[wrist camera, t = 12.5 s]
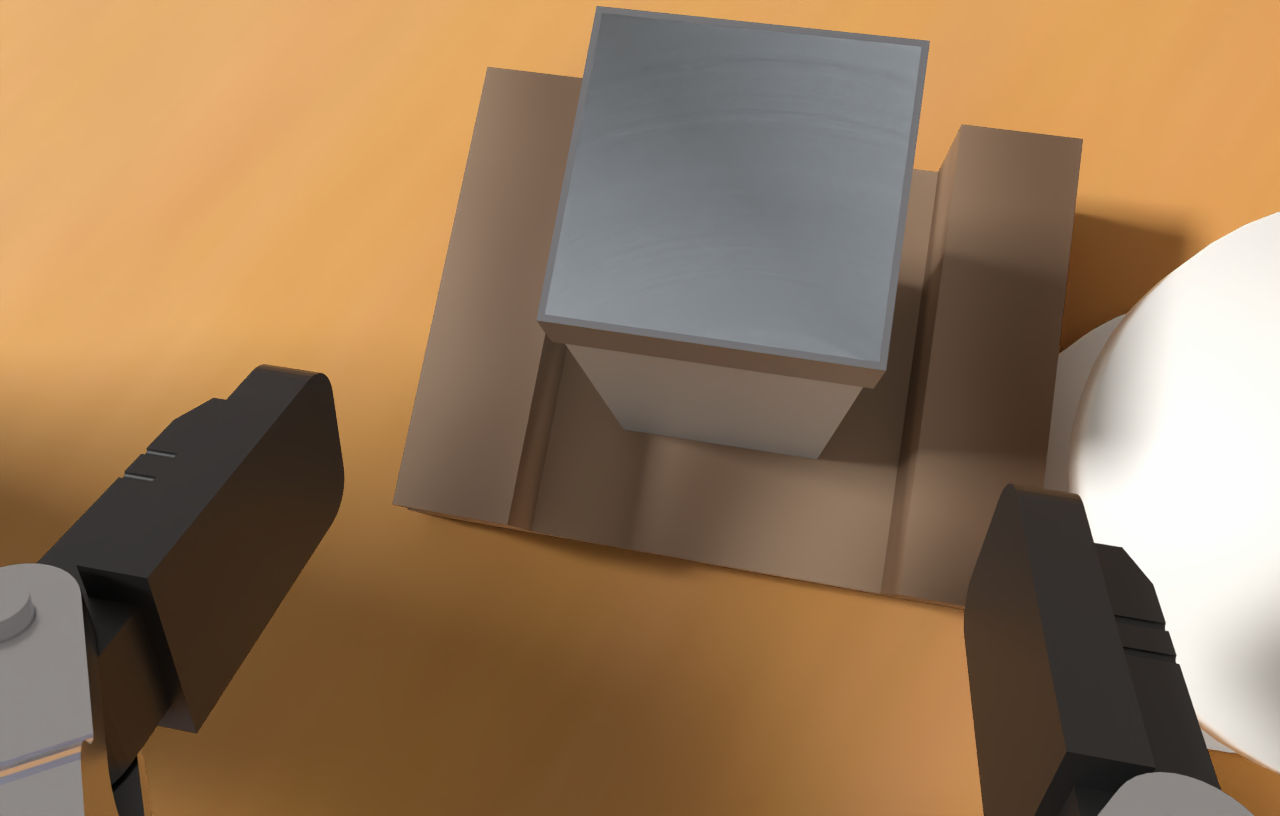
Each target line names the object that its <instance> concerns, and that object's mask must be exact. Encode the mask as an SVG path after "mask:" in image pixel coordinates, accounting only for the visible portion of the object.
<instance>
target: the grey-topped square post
mask: <svg viewBox="0 0 1280 816" xmlns="http://www.w3.org/2000/svg"><path fill="white" fill-rule="evenodd" d="M929 43H930V41H925V40H916V39H906V38H897V37H887V36H878V35H868V34H859V33H849V32H840V31H830V30H821V29H811V28H801V27H792V26H782V25H773V24H763V23H754V22H744V21H735V20H725V19H716V18H706V17H697V16H687V15H678V14H668V13H658V12H649V11H639V10H630V9H620V8H611V7H601V6H597V7H596V13H595V18H594V23H593V28H592V33H591V39H590V44H589V49H588V54H587V59H586V65H585V70H584V75H583V80H582V85H581V91H580V96H579V101H578V106H577V111H576V117H575V122H574V127H573V132H572V137H571V143H570V148H569V153H568V158H567V164H566V169H565V174H564V179H563V184H562V190H561V195H560V200H559V205H558V210H557V216H556V221H555V226H554V231H553V236H552V242H551V247H550V252H549V257H548V262H547V268H546V273H545V278H544V283H543V288H542V294H541V299H540V304H539V309H538V314H537V320H536V321H537V322H538V323H539V325H540V326H541V327H542V329H543V330H544V332H545V333H546V334H547V336H548V337H549V338H550V340H551V341H552V342H557V343H564V344H565V345H566V346H567V347H568V349H569V350H570V352H571V353H572V355H573V356H574V358H575V359H576V361H577V362H578V364H579V365H580V366H581V368H582V369H583V371H584V372H585V374H586V375H587V377H588V378H589V380H590V381H591V383H592V384H593V385H594V387H595V388H596V390H597V391H598V393H599V394H600V396H601V397H602V399H603V400H604V402H605V403H606V404H607V406H608V407H609V409H610V410H611V412H612V413H613V415H614V416H615V418H616V419H617V421H618V422H619V423H620V425H621V426H622V428H623V429H624V430H631V431H637V432H643V433H650V434H656V435H663V436H669V437H676V438H682V439H689V440H695V441H701V442H708V443H714V444H721V445H727V446H734V447H740V448H746V449H753V450H759V451H766V452H772V453H779V454H785V455H791V456H798V457H804V458H811V459H817V458H818V457H819V455H820V454H821V452H822V451H823V449H824V448H825V446H826V444H827V443H828V441H829V440H830V438H831V437H832V435H833V434H834V432H835V430H836V429H837V427H838V426H839V424H840V423H841V421H842V420H843V418H844V416H845V415H846V413H847V412H848V410H849V409H850V407H851V405H852V404H853V402H854V401H855V399H856V398H857V396H858V395H859V393H860V391H861V390H862V388H863V387H865V388H872V389H874V387H875V386H876V384H877V383H878V381H879V380H880V379H881V377H882V376H883V374H884V373H885V371H886V367H887V360H888V352H889V345H890V337H891V329H892V322H893V314H894V307H895V299H896V292H897V284H898V277H899V269H900V262H901V254H902V247H903V239H904V232H905V224H906V217H907V209H908V202H909V194H910V186H911V179H912V171H913V164H914V156H915V149H916V141H917V134H918V126H919V119H920V111H921V104H922V96H923V89H924V81H925V74H926V66H927V58H928V51H929Z"/></svg>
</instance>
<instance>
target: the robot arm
mask: <svg viewBox="0 0 1280 816" xmlns="http://www.w3.org/2000/svg"><path fill="white" fill-rule="evenodd" d="M343 489H344V467H343V460H342V453H341V446H340V439H339V432H338V426H337V419H336V412H335V405H334V398H333V391H332V386H331V383H330V381H329V379H328V377H327V376H326V375H325V374H323V373H317V372H311V371H304V370H298V369H292V368H285V367H279V366H272V365H265V364H263V365H260V366H258V367H256V368H255V369H254V370H253V371H252V372H251V373H250V374H249V375H248V377H247V378H246V379H245V380H244V381H243V382H242V383H241V384H240V385H239V386H238V388H237V389H236V390H235V391H234V392H233V393H232V394H231V395H230V396H229V397H228V399H227V400H223V399H217V398H212V399H211V400H209V401H207V402H205V403H204V404H202V405H200V406H198V407H196V408H195V409H193V410H191V411H189V412H187V413H186V414H184V415H182V416H180V417H178V418H177V419H175V420H173V421H172V422H171V424H170V425H169V426H168V427H167V428H166V429H165V430H164V431H163V432H162V433H161V434H160V435H159V436H158V437H157V438H156V439H155V440H154V441H153V442H152V443H151V444H150V445H149V447H148V448H147V452H146V454H141V455H140V456H139V457H138V458H137V459H136V460H135V461H134V462H133V463H132V464H131V465H130V466H129V467H128V468H127V470H126V471H125V475H124V477H123V478H118V479H117V480H116V481H115V482H114V483H113V484H112V485H111V486H110V487H109V488H108V489H107V490H106V491H105V493H104V494H103V495H102V496H101V497H100V498H99V499H98V500H97V501H96V502H95V503H94V504H93V505H92V506H91V507H90V508H89V509H88V510H87V511H86V512H85V513H84V514H83V515H82V517H81V518H80V519H79V520H78V521H77V522H76V523H75V524H74V525H73V526H72V527H71V528H70V529H69V530H68V531H67V532H66V533H65V534H64V535H63V536H62V537H61V538H60V540H59V541H58V542H57V543H56V544H55V545H54V546H53V547H52V548H51V549H50V550H49V551H48V552H47V553H46V554H45V555H44V556H43V557H42V558H41V559H40V560H39V561H38V563H36V564H33V563H26V564H15V565H9V566H4V567H0V816H152V811H151V803H150V796H149V788H148V781H147V773H146V765H145V761H144V757H143V754H142V752H141V749H142V747H143V746H144V744H145V743H146V741H147V740H148V738H149V737H150V736H151V734H152V733H153V731H154V730H155V728H156V727H157V726H162V727H167V728H172V729H177V730H182V731H187V732H192V733H197V732H198V731H199V729H200V727H201V726H202V724H203V723H204V721H205V720H206V718H207V717H208V715H209V714H210V712H211V710H212V709H213V707H214V706H215V704H216V703H217V701H218V700H219V698H220V696H221V695H222V693H223V692H224V690H225V689H226V687H227V686H228V684H229V682H230V681H231V679H232V678H233V676H234V675H235V673H236V672H237V670H238V669H239V667H240V665H241V664H242V662H243V661H244V659H245V658H246V656H247V655H248V653H249V651H250V650H251V648H252V647H253V645H254V644H255V642H256V641H257V639H258V638H259V636H260V634H261V633H262V631H263V630H264V628H265V627H266V625H267V624H268V622H269V620H270V619H271V617H272V616H273V614H274V613H275V611H276V610H277V608H278V606H279V605H280V603H281V602H282V600H283V599H284V597H285V596H286V594H287V593H288V591H289V589H290V588H291V586H292V585H293V583H294V582H295V580H296V579H297V577H298V575H299V574H300V572H301V571H302V569H303V568H304V566H305V565H306V563H307V561H308V560H309V558H310V557H311V555H312V554H313V552H314V551H315V549H316V548H317V546H318V544H319V543H320V541H321V540H322V538H323V537H324V535H325V534H326V532H327V530H328V529H329V527H330V526H331V524H332V523H333V521H334V519H335V517H336V515H337V512H338V510H339V507H340V503H341V500H342V495H343ZM1165 625H1166V621H1165V618H1164V615H1163V612H1162V609H1161V606H1160V603H1159V600H1158V597H1157V594H1156V591H1155V588H1154V585H1153V583H1152V582H1151V581H1150V580H1149V579H1148V577H1147V576H1146V575H1145V574H1144V573H1143V571H1142V570H1141V569H1140V568H1139V567H1138V565H1137V564H1136V563H1135V562H1134V561H1133V559H1132V558H1131V557H1130V556H1129V555H1128V553H1127V552H1126V551H1125V550H1124V549H1123V547H1118V546H1112V545H1105V544H1099V543H1094V540H1093V537H1092V533H1091V529H1090V526H1089V522H1088V519H1087V515H1086V511H1085V508H1084V504H1083V501H1082V499H1081V497H1080V496H1079V495H1078V494H1075V493H1069V492H1062V491H1056V490H1049V489H1043V488H1037V487H1030V486H1024V485H1018V484H1011V483H1009V484H1007V485H1006V486H1005V488H1004V489H1003V491H1002V493H1001V495H1000V497H999V500H998V503H997V506H996V508H995V511H994V514H993V517H992V520H991V523H990V525H989V528H988V531H987V534H986V537H985V539H984V542H983V545H982V548H981V551H980V553H979V556H978V559H977V562H976V565H975V568H974V570H973V573H972V576H971V579H970V582H969V586H968V591H967V596H966V602H965V611H964V637H965V646H966V656H967V665H968V674H969V683H970V693H971V702H972V711H973V720H974V729H975V739H976V748H977V757H978V766H979V775H980V785H981V794H982V803H983V812H984V816H1254V815H1253V814H1252V813H1251V812H1250V811H1249V810H1248V809H1246V808H1245V807H1244V806H1243V805H1241V804H1240V803H1239V802H1237V801H1236V800H1235V799H1234V798H1232V797H1231V796H1229V795H1227V794H1226V793H1224V792H1222V790H1221V788H1220V786H1219V783H1218V780H1217V777H1216V774H1215V771H1214V768H1213V765H1212V761H1211V758H1210V755H1209V752H1208V749H1207V746H1206V743H1205V740H1204V737H1203V734H1202V731H1201V728H1200V725H1199V722H1198V719H1197V716H1196V713H1195V710H1194V707H1193V704H1192V701H1191V698H1190V695H1189V691H1188V688H1187V685H1186V682H1185V679H1184V676H1183V673H1182V670H1181V667H1180V664H1177V663H1176V656H1177V655H1176V652H1175V649H1174V646H1173V643H1172V640H1171V637H1170V634H1169V631H1165Z"/></svg>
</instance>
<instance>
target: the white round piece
mask: <svg viewBox="0 0 1280 816" xmlns="http://www.w3.org/2000/svg"><path fill="white" fill-rule="evenodd" d="M1043 489H1049V490H1056V491H1062V492H1069V493H1075V494H1078V495H1079V496H1080V497H1081V499H1082V501H1083V504H1084V508H1085V511H1086V515H1087V519H1088V522H1089V526H1090V529H1091V533H1092V537H1093V540H1094V543H1099V544H1105V545H1112V546H1118V547H1123V549H1124V550H1125V551H1126V552H1127V553H1128V555H1129V556H1130V557H1131V558H1132V559H1133V561H1134V562H1135V563H1136V564H1137V565H1138V567H1139V568H1140V569H1141V570H1142V571H1143V573H1144V574H1145V575H1146V576H1147V577H1148V579H1149V580H1150V581H1151V582H1152V583H1153V585H1154V588H1155V591H1156V594H1157V597H1158V600H1159V603H1160V606H1161V609H1162V612H1163V615H1164V618H1165V621H1166V625H1165V631H1169V634H1170V637H1171V640H1172V643H1173V646H1174V649H1175V652H1176V655H1177V656H1176V663H1177V664H1180V667H1181V670H1182V673H1183V676H1184V679H1185V682H1186V685H1187V688H1188V691H1189V695H1190V698H1191V701H1192V704H1193V707H1194V710H1195V713H1196V716H1197V719H1198V722H1199V725H1200V728H1201V731H1202V734H1203V737H1204V740H1205V743H1206V746H1207V749H1212V750H1218V751H1223V752H1229V753H1238V754H1240V755H1241V756H1243V757H1245V758H1246V759H1248V760H1250V761H1251V762H1253V763H1255V764H1257V765H1259V766H1262V767H1264V768H1266V769H1268V770H1271V771H1273V772H1275V773H1277V774H1280V212H1277V213H1275V214H1272V215H1269V216H1267V217H1264V218H1262V219H1259V220H1256V221H1254V222H1251V223H1249V224H1246V225H1244V226H1242V227H1240V228H1238V229H1237V230H1235V231H1233V232H1231V233H1229V234H1227V235H1226V236H1224V237H1222V238H1220V239H1218V240H1216V241H1215V242H1213V243H1211V244H1210V245H1208V246H1207V247H1206V248H1204V249H1203V250H1201V251H1200V252H1199V253H1197V254H1196V255H1195V256H1193V257H1192V258H1190V259H1189V260H1188V261H1186V262H1185V263H1184V264H1182V265H1181V266H1179V267H1178V268H1177V269H1175V270H1174V271H1173V272H1171V273H1170V274H1169V275H1167V276H1166V277H1164V278H1163V279H1162V280H1160V281H1159V282H1158V283H1156V284H1155V285H1154V286H1153V287H1152V288H1151V289H1150V290H1149V291H1148V292H1147V293H1146V294H1145V295H1144V296H1143V297H1142V298H1141V299H1140V300H1139V301H1138V302H1137V303H1136V304H1135V305H1134V306H1133V307H1132V308H1131V309H1130V310H1129V312H1128V313H1126V314H1123V315H1121V316H1118V317H1116V318H1113V319H1112V320H1110V321H1108V322H1106V323H1104V324H1102V325H1101V326H1099V327H1097V328H1095V329H1093V330H1091V331H1090V332H1088V333H1087V334H1086V335H1084V336H1083V337H1081V338H1080V339H1079V340H1077V341H1076V342H1074V343H1073V344H1072V345H1070V346H1069V347H1068V348H1066V349H1065V350H1064V351H1062V352H1061V353H1059V355H1058V363H1057V372H1056V381H1055V390H1054V399H1053V408H1052V416H1051V425H1050V434H1049V443H1048V452H1047V460H1046V469H1045V478H1044V487H1043Z"/></svg>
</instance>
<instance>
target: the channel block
mask: <svg viewBox="0 0 1280 816" xmlns="http://www.w3.org/2000/svg"><path fill="white" fill-rule="evenodd" d="M582 80H583V78H576V77H568V76H559V75H551V74H543V73H535V72H526V71H518V70H510V69H502V68H494V67H487V72H486V77H485V81H484V86H483V90H482V95H481V100H480V104H479V109H478V113H477V118H476V123H475V127H474V132H473V136H472V141H471V145H470V150H469V155H468V159H467V164H466V168H465V173H464V178H463V182H462V187H461V191H460V196H459V201H458V205H457V210H456V214H455V219H454V224H453V228H452V233H451V237H450V242H449V247H448V251H447V256H446V260H445V265H444V269H443V274H442V279H441V283H440V288H439V292H438V297H437V302H436V306H435V311H434V315H433V320H432V325H431V329H430V334H429V338H428V343H427V348H426V352H425V357H424V361H423V366H422V371H421V375H420V380H419V384H418V389H417V394H416V398H415V403H414V407H413V412H412V416H411V421H410V426H409V430H408V435H407V439H406V444H405V449H404V453H403V458H402V462H401V467H400V472H399V476H398V481H397V485H396V490H395V495H394V499H393V505H397V506H401V507H405V508H408V510H412V511H416V512H420V513H424V514H430V515H435V516H441V517H447V518H452V519H458V520H463V521H469V522H475V523H480V524H486V525H491V526H497V527H503V528H508V529H514V530H519V531H525V532H531V533H536V534H542V535H548V536H553V537H559V538H564V539H570V540H576V541H581V542H587V543H592V544H598V545H604V546H609V547H615V548H620V549H626V550H632V551H637V552H643V553H649V554H654V555H660V556H665V557H671V558H677V559H682V560H688V561H693V562H699V563H705V564H710V565H716V566H722V567H727V568H733V569H738V570H744V571H750V572H755V573H761V574H766V575H772V576H778V577H783V578H789V579H794V580H800V581H806V582H811V583H817V584H823V585H828V586H834V587H839V588H845V589H851V590H856V591H862V592H867V593H873V594H879V595H884V596H890V597H895V598H901V599H907V600H912V601H918V602H924V603H929V604H935V605H940V606H946V607H952V608H957V609H963V610H965V602H966V596H967V591H968V586H969V582H970V579H971V576H972V573H973V570H974V568H975V565H976V562H977V559H978V556H979V553H980V551H981V548H982V545H983V542H984V539H985V537H986V534H987V531H988V528H989V525H990V523H991V520H992V517H993V514H994V511H995V508H996V506H997V503H998V500H999V497H1000V495H1001V493H1002V491H1003V489H1004V488H1005V486H1006V485H1007V484H1009V483H1011V484H1018V485H1024V486H1030V487H1037V488H1043V487H1044V478H1045V469H1046V460H1047V452H1048V443H1049V434H1050V425H1051V416H1052V408H1053V399H1054V390H1055V381H1056V372H1057V363H1058V355H1059V346H1060V337H1061V328H1062V319H1063V311H1064V302H1065V293H1066V284H1067V275H1068V266H1069V258H1070V249H1071V240H1072V231H1073V222H1074V214H1075V205H1076V196H1077V187H1078V178H1079V169H1080V161H1081V152H1082V143H1083V139H1078V138H1069V137H1061V136H1053V135H1045V134H1036V133H1028V132H1020V131H1012V130H1004V129H995V128H987V127H979V126H971V125H961V127H960V129H959V131H958V133H957V135H956V137H955V139H954V141H953V143H952V145H951V147H950V149H949V151H948V153H947V155H946V158H945V160H944V162H943V164H942V166H941V168H940V170H939V172H933V171H925V170H917V169H913V171H912V179H911V186H910V194H909V202H908V209H907V217H906V224H905V232H904V239H903V247H902V254H901V262H900V269H899V277H898V284H897V292H896V299H895V307H894V314H893V322H892V329H891V337H890V345H889V352H888V360H887V367H886V371H885V373H884V374H883V376H882V377H881V379H880V380H879V381H878V383H877V384H876V386H875V387H874V389H872V388H865V387H863V388H862V390H861V391H860V393H859V395H858V396H857V398H856V399H855V401H854V402H853V404H852V405H851V407H850V409H849V410H848V412H847V413H846V415H845V416H844V418H843V420H842V421H841V423H840V424H839V426H838V427H837V429H836V430H835V432H834V434H833V435H832V437H831V438H830V440H829V441H828V443H827V444H826V446H825V448H824V449H823V451H822V452H821V454H820V455H819V457H818V458H817V459H811V458H804V457H798V456H791V455H785V454H779V453H772V452H766V451H759V450H753V449H746V448H740V447H734V446H727V445H721V444H714V443H708V442H701V441H695V440H689V439H682V438H676V437H669V436H663V435H656V434H650V433H643V432H637V431H631V430H624V429H623V428H622V426H621V425H620V423H619V422H618V421H617V419H616V418H615V416H614V415H613V413H612V412H611V410H610V409H609V407H608V406H607V404H606V403H605V402H604V400H603V399H602V397H601V396H600V394H599V393H598V391H597V390H596V388H595V387H594V385H593V384H592V383H591V381H590V380H589V378H588V377H587V375H586V374H585V372H584V371H583V369H582V368H581V366H580V365H579V364H578V362H577V361H576V359H575V358H574V356H573V355H572V353H571V352H570V350H569V349H568V347H567V346H566V345H565V344H564V343H557V342H552V341H551V340H550V338H549V337H548V336H547V334H546V333H545V332H544V330H543V329H542V327H541V326H540V325H539V323H538V322H537V321H536V320H537V314H538V309H539V304H540V299H541V294H542V288H543V283H544V278H545V273H546V268H547V262H548V257H549V252H550V247H551V242H552V236H553V231H554V226H555V221H556V216H557V210H558V205H559V200H560V195H561V190H562V184H563V179H564V174H565V169H566V164H567V158H568V153H569V148H570V143H571V137H572V132H573V127H574V122H575V117H576V111H577V106H578V101H579V96H580V91H581V85H582Z"/></svg>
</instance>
